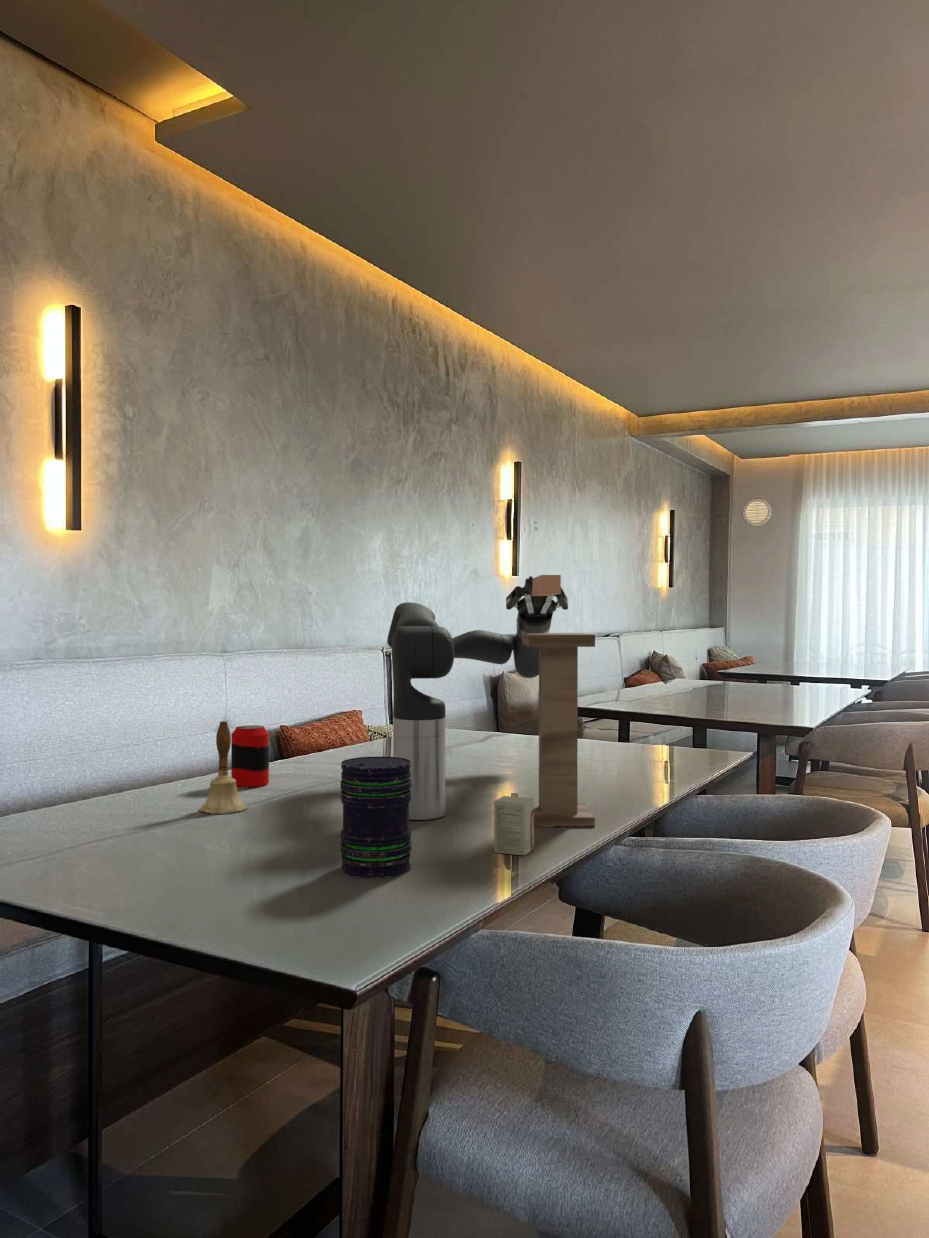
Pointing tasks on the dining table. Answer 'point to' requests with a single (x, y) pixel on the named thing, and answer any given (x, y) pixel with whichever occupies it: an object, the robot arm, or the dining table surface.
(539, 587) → the block
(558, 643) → the wooden pedestal stand
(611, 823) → the dining table surface
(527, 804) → the small box
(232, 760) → the soda can
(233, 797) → the hand bell
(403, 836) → the storage jar
